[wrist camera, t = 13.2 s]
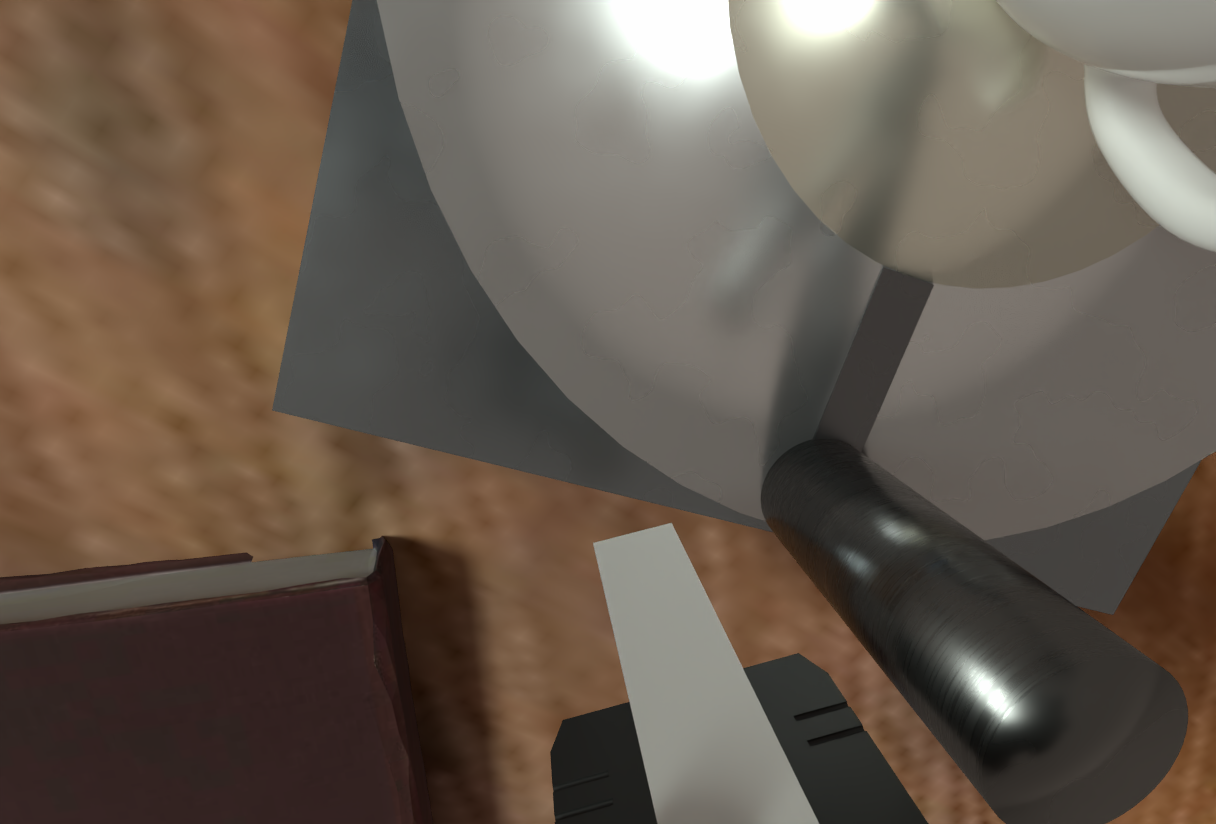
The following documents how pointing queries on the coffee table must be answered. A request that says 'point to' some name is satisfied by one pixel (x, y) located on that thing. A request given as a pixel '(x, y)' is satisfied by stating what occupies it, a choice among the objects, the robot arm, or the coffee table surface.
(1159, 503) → the base
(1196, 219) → the cup
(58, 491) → the coffee table surface
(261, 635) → the book
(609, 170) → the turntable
